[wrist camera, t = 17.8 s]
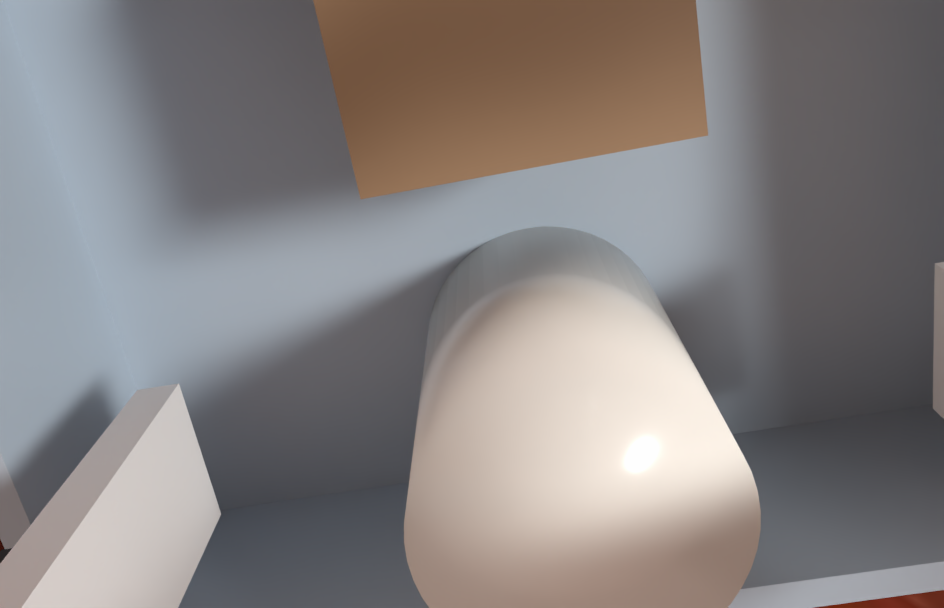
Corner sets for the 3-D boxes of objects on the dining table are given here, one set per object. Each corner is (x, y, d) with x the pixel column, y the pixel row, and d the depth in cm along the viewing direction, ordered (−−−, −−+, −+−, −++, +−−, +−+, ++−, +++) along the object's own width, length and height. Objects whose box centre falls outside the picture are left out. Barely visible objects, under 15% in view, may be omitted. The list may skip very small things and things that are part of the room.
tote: (-73, -173, 16) (-337, -237, 11) (1013, -394, 15) (1306, -588, 10) (171, 525, 21) (73, 708, 16) (984, 405, 20) (1161, 560, 15)
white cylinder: (407, 248, 18) (370, 406, 12) (649, 207, 18) (749, 347, 11) (451, 456, 20) (439, 695, 14) (672, 423, 20) (770, 651, 13)
